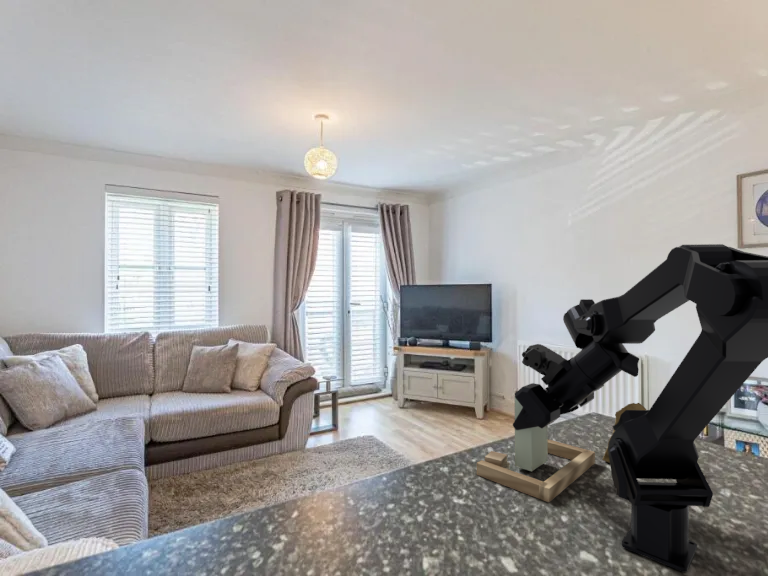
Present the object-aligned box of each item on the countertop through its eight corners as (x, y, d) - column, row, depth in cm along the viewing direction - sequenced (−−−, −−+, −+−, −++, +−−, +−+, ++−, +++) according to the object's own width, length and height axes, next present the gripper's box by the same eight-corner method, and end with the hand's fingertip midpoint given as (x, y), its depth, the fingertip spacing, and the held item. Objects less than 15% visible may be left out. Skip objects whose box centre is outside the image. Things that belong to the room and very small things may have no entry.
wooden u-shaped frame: (549, 502, 60) (549, 488, 60) (476, 474, 69) (476, 462, 69) (594, 463, 73) (594, 452, 73) (529, 444, 82) (529, 434, 82)
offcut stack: (498, 476, 68) (498, 462, 68) (480, 469, 71) (480, 455, 70) (509, 469, 71) (509, 455, 71) (492, 463, 73) (492, 449, 73)
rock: (623, 460, 69) (671, 446, 71) (595, 411, 73) (641, 399, 76) (590, 475, 77) (634, 462, 80) (567, 430, 82) (610, 419, 84)
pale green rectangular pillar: (531, 471, 68) (531, 399, 68) (514, 465, 71) (514, 395, 70) (547, 460, 73) (547, 392, 72) (531, 455, 75) (531, 389, 75)
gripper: (575, 325, 75) (519, 377, 83) (526, 335, 62) (465, 394, 70) (623, 375, 69) (558, 425, 77) (581, 397, 56) (508, 454, 64)
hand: (523, 423), depth 72 cm, fingers closed on pale green rectangular pillar, 6 cm apart
